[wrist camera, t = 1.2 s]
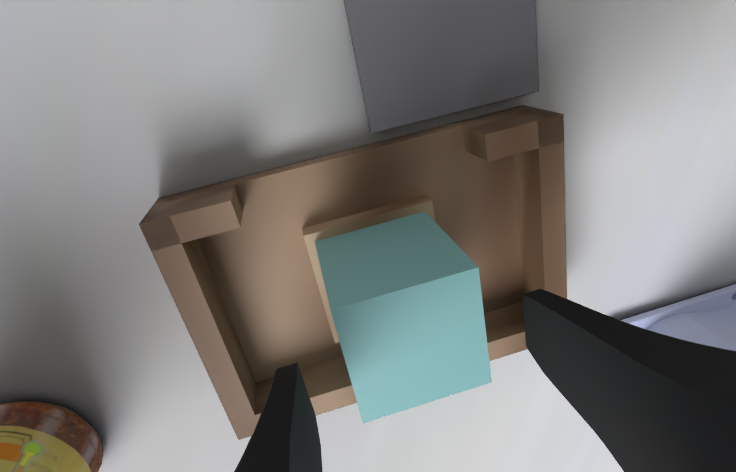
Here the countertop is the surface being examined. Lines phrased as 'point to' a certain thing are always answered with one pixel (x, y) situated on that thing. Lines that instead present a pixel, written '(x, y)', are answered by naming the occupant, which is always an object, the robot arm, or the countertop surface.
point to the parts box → (346, 214)
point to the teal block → (405, 314)
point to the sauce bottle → (46, 439)
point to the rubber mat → (441, 55)
